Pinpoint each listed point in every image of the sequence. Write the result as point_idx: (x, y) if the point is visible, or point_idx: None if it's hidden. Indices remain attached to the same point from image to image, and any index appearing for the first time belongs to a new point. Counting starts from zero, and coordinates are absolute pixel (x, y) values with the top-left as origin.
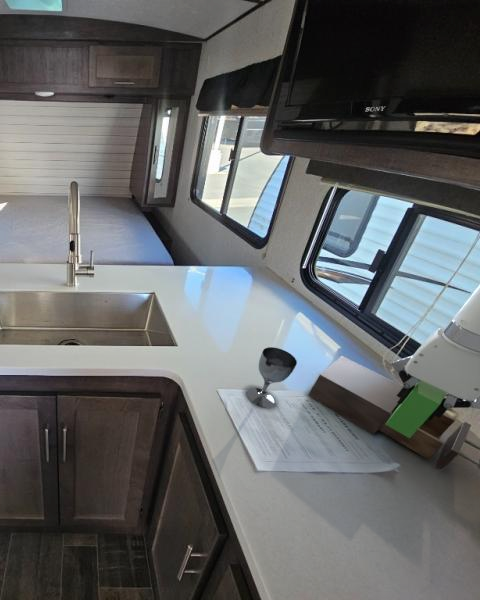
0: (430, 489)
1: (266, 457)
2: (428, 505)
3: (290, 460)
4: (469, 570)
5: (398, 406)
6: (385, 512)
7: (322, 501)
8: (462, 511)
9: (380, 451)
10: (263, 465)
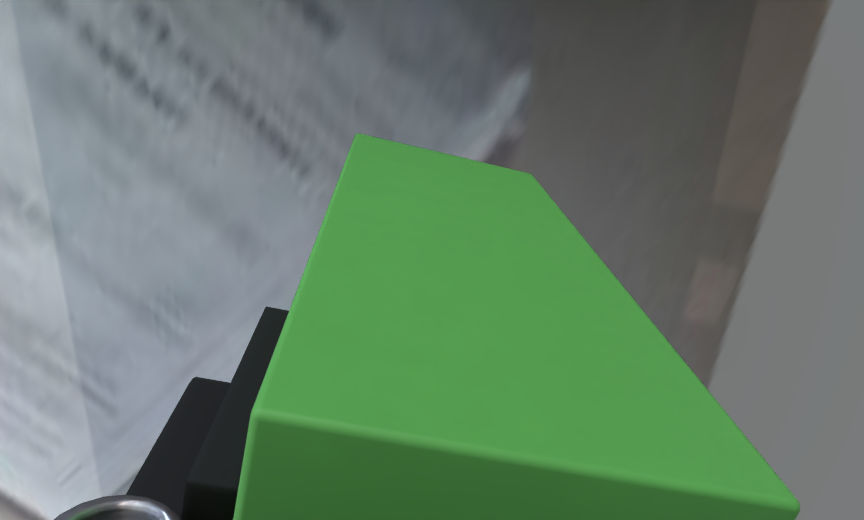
0: (642, 142)
1: (57, 463)
2: (618, 245)
3: (132, 412)
4: None
5: (351, 146)
6: None
7: None
8: (741, 176)
9: (446, 43)
10: (69, 502)
